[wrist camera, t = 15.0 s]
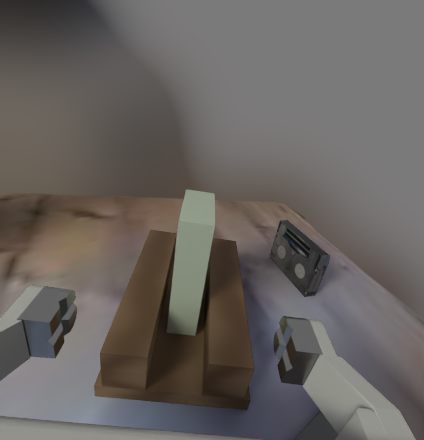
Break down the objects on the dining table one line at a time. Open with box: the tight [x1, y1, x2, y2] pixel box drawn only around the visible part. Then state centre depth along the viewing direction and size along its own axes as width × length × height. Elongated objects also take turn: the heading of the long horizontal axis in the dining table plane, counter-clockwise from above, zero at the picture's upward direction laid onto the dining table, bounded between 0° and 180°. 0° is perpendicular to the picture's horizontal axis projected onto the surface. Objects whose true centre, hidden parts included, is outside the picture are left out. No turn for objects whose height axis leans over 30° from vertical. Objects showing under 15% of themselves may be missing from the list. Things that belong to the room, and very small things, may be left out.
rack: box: [94, 230, 254, 410], centre depth 26 cm, size 11×16×5 cm
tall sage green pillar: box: [167, 190, 215, 336], centre depth 24 cm, size 2×6×11 cm, turn 0°
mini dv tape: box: [270, 220, 330, 297], centre depth 35 cm, size 8×2×6 cm, turn 20°
